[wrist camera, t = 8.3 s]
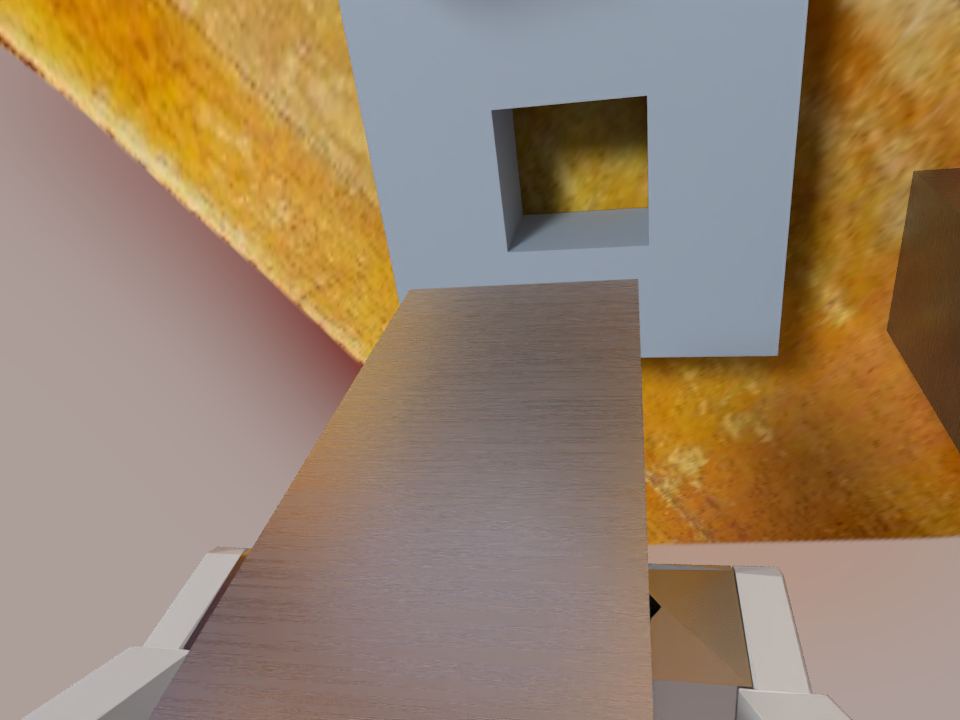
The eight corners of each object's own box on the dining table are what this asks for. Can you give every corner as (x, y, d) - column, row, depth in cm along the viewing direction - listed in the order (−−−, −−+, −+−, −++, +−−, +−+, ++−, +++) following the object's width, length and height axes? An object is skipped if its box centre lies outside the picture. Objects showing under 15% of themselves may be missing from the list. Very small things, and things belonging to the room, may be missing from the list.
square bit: (638, 278, 12) (665, 1082, 4) (642, 468, 14) (666, 1280, 6) (409, 289, 13) (-1, 961, 4) (443, 466, 15) (201, 1172, 6)
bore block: (791, -93, 23) (817, -96, 19) (762, 306, 30) (777, 355, 26) (373, -32, 26) (333, -25, 23) (435, 316, 33) (411, 360, 30)
